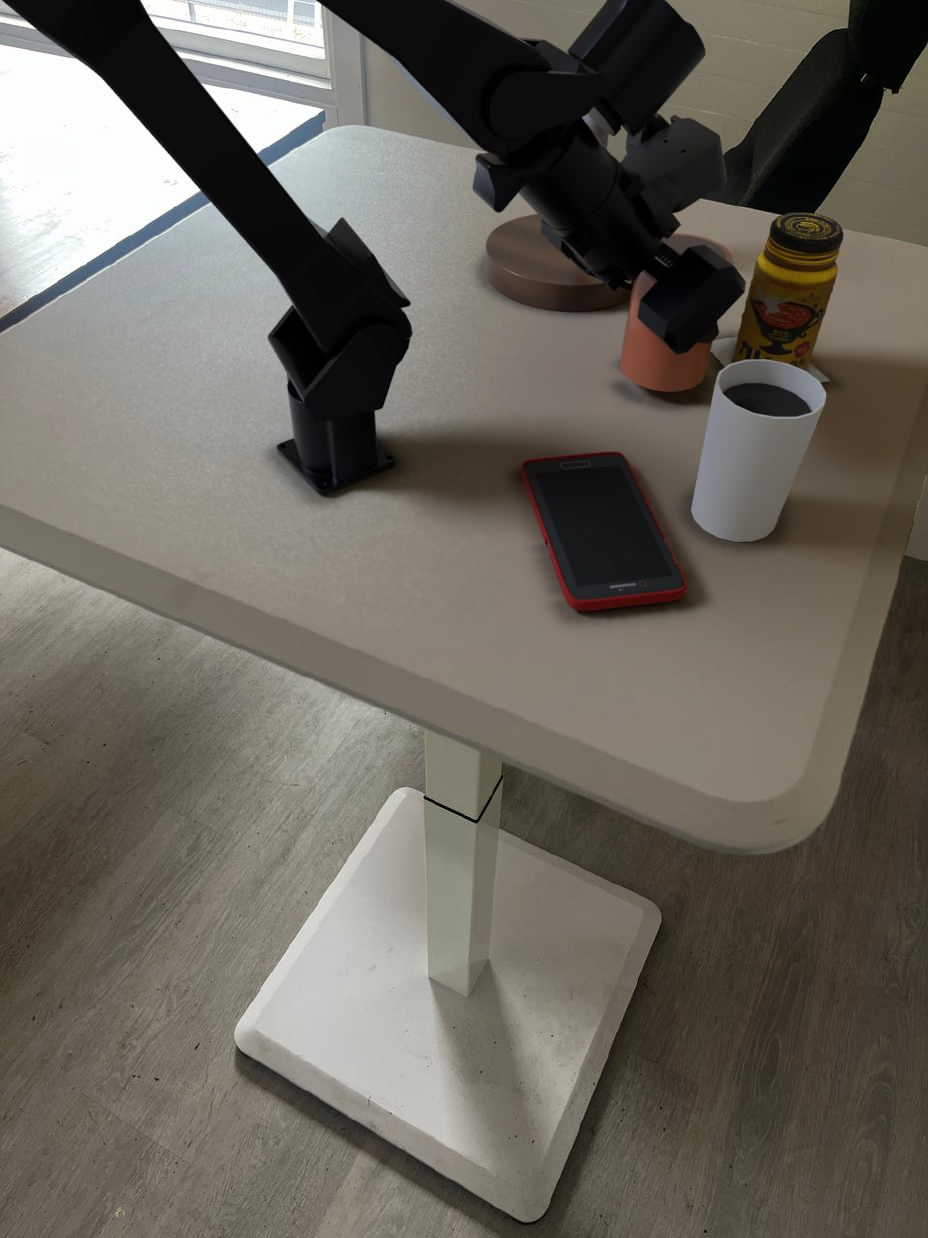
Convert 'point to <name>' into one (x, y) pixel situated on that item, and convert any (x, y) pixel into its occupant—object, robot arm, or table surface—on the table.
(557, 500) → the cell phone
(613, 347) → the table surface
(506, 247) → the towel holder
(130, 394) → the table surface
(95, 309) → the table surface
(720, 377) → the white coffee cup
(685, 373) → the cup
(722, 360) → the condiment
